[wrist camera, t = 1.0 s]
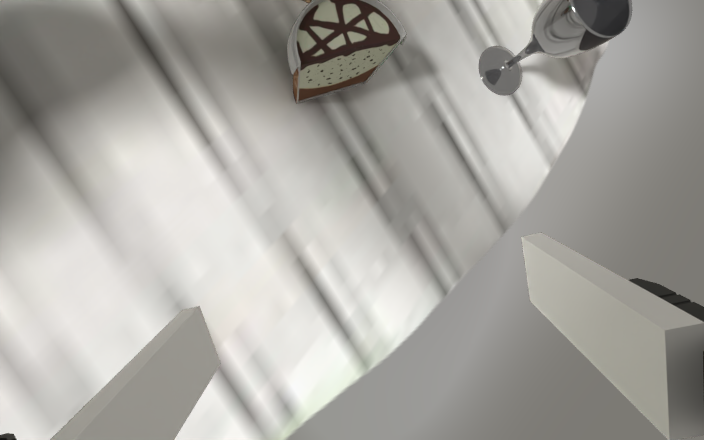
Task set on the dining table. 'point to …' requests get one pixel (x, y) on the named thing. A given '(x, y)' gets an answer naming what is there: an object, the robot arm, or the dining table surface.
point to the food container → (340, 45)
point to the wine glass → (556, 37)
